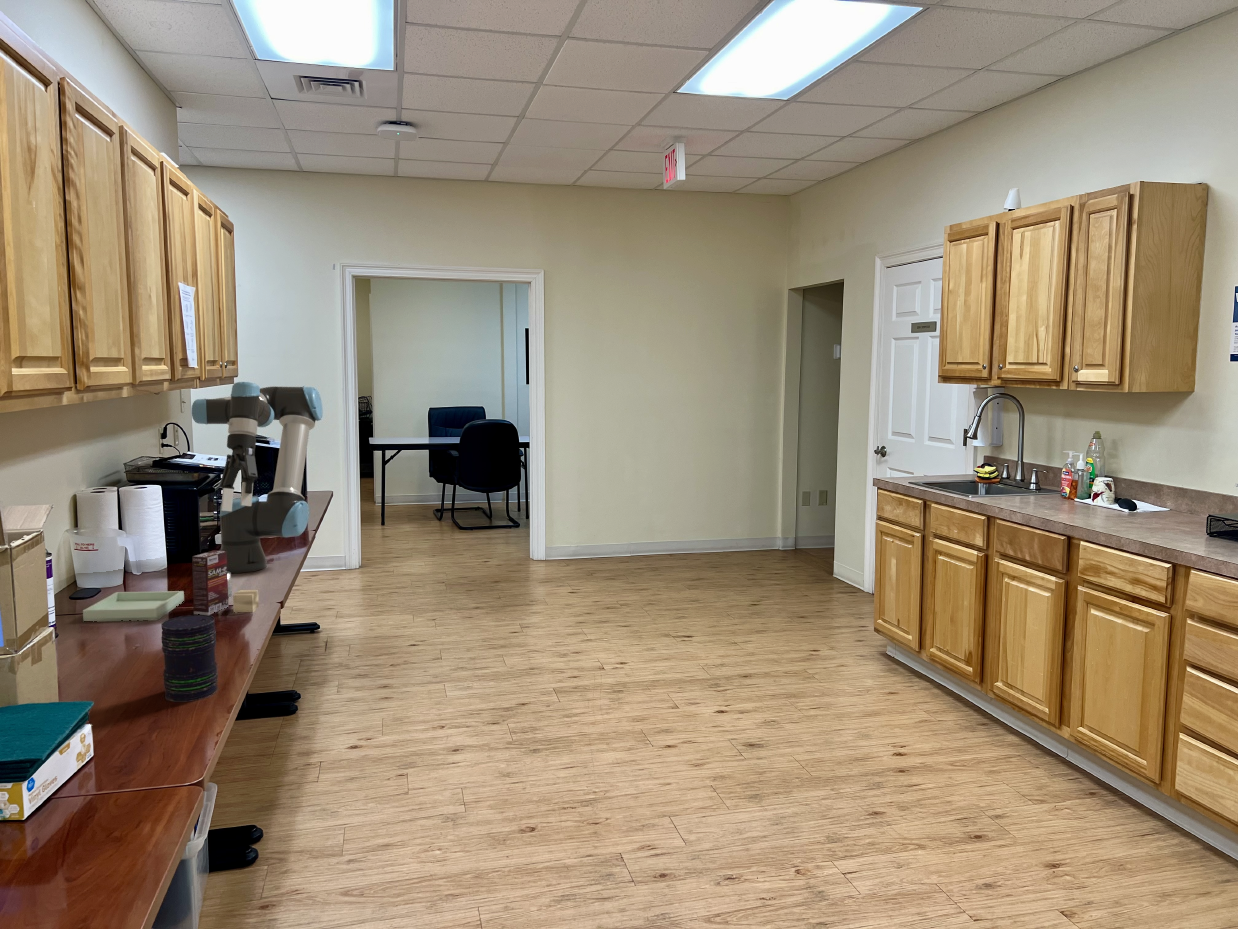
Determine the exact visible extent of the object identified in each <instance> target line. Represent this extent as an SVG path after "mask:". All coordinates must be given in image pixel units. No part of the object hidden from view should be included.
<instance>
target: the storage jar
mask: <svg viewBox="0 0 1238 929" xmlns="http://www.w3.org/2000/svg"><path fill="white" fill-rule="evenodd" d="M215 622H216V621H215V617H214V616H212V615H197V614H190V615H181V616H177V617H173V618H169V619H167V620H164V621H163V622H162V623H161V626H160V627H161V630H162V631H161V645H162V647H161V650H162V652H163V656H164V659H163V660H164V669H163V675H162V676H163V686H164V691H165V692H164V698H165V699H166V700H167V701H170V702H177V703H183V702H187V703H188V702H195V701H200V700H202V699H206V698H208V697H212V696H213V695H215V693H217V692H218V688H219V687H218V685H217V683H218V677H219V676H218V663H217V662H216V652H215V647H216V645H217V640H216V637H217V632H216V625H215Z"/></svg>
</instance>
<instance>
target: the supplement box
mask: <svg viewBox="0 0 1238 929" xmlns="http://www.w3.org/2000/svg"><path fill="white" fill-rule="evenodd" d="M191 559H192V562H191V564H192V567H191V568H192V593H193V594H192V595H193V597H192V600H193V601H192V602H193V615H198V614H200V615H209V616H211V615H212V614H215V613H217V612H219V610H220V611H222V610H225V609H227V607H228V608H229V598H228V578H227V551H220V550H213V549H212V550H211V551H208V552H203V553H200V554H197V555H193V556H192V557H191ZM224 608H225V609H224ZM221 609H222V610H221ZM214 612H215V613H214Z"/></svg>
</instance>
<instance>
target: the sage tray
mask: <svg viewBox="0 0 1238 929" xmlns="http://www.w3.org/2000/svg"><path fill="white" fill-rule="evenodd" d="M184 593H185V592H184V590H180V591H179V590H175V591H172V590H171V591H169V590H167V591H165V590H164V591H117V592H113V593H112V594H110V595H108V596H107V597H105V598H103V599H101V600H99V601H98V602H96V603H94V604H92V605H90V606H89V607H87V608H85V609H83V610H82V617H83V618H82V619H83V622H84V621H93V622H94V621H97V623H98V622H136V621H137V620H139V621H138V622H140V621H142V622H143V620H148V621H158V620H159V619H161V618H162V617H164V616H166V614H168V613H169V612H171V611H172V610H174V609H175V608H177V607H178V606H179V604H180V605H181V604H183V603H184V602H185V594H184ZM183 601H184V602H183ZM182 602H183V603H182ZM176 606H177V607H176ZM121 620H123V621H121ZM129 620H131V621H129ZM94 623H95V622H94Z"/></svg>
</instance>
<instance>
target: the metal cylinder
mask: <svg viewBox="0 0 1238 929" xmlns="http://www.w3.org/2000/svg"><path fill="white" fill-rule="evenodd" d="M227 578H228V599H230V598H229V597H231V596H232V597H233V593H232V591H233V590H232V588H233V587H232V573H231V572H228V571H227ZM232 597H231V598H232Z"/></svg>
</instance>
